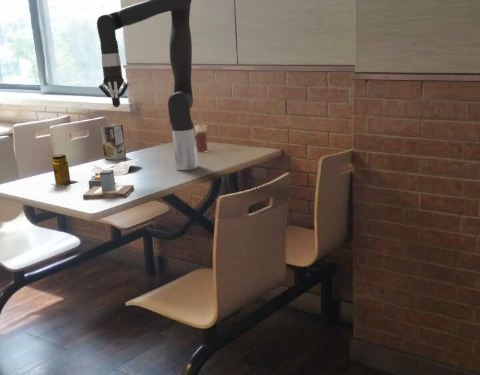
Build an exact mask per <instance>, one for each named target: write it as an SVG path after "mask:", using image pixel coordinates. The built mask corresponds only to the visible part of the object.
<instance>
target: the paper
mask: <svg viewBox="0 0 480 375" xmlns="http://www.w3.org/2000/svg"><path fill="white" fill-rule="evenodd" d="M139 161H140V159H139V158H137V159H133V160H132V159H128V160H127V161H120V162H119V163H116V164H114V165H111V166H109V167H105V168H103V167H100V166H98V165H94V168H92V169H90V170H89V171H91V172H93V173H96V174H97V175H100V172H101V171H103V170H113V172H114V176H115V177H121V176H125V175H126V174H128V173H129V170H130V166H131V165H133V164H136V165H138V162H139ZM112 167H113V168H112Z"/></svg>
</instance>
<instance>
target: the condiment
mask: <svg viewBox="0 0 480 375" xmlns="http://www.w3.org/2000/svg"><path fill="white" fill-rule="evenodd" d="M68 163H69V162H68V160H67V157H66V154H64V153H63V154H55V155H53V156H52V168H53V174H54V175H53V176H54V182H55V183H52V185H54V186H59V187H65V186H68V185H71V184H74V183H77V182H78V180H72V179H71V176H70V174H71V173H70V168H69V164H68Z"/></svg>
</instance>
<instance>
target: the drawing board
mask: <svg viewBox="0 0 480 375" xmlns="http://www.w3.org/2000/svg"><path fill="white" fill-rule="evenodd" d="M132 189H133V190H135V186H134V184H130V185H129V184H125V185H124V184H123V185H121V184H120V185H115V189H114V190H113V191H102V188H101V186H94V187H92V188H89V189H88V190H87V191H86V192H85V193H84V194H83V195H82V197H83V200H85V199H86V200H87V199H88V200H89V199H90V200H91V199H92V200H93V199H94V200H95V199H116V198H117V199H118V198H119V197H125V196H126V195H127V194H128V193H129V192H130V191H131V192H132V191H133V190H132ZM131 192H130V193H131ZM130 193H129V194H130ZM129 194H128V195H129ZM128 195H127V196H128ZM127 196H126V197H127ZM126 197H125V198H126ZM119 199H120V198H119Z"/></svg>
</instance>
